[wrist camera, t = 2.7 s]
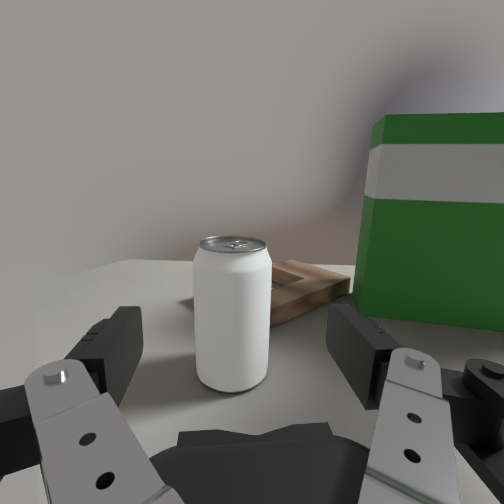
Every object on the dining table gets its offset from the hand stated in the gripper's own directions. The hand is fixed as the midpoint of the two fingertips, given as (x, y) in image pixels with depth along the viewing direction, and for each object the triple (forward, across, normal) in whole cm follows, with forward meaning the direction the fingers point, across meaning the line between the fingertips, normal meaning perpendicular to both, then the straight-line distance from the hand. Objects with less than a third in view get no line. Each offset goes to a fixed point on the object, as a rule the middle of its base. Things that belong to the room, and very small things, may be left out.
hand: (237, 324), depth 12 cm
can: (+12, 0, +11) cm, 16 cm away
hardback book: (+22, -27, +11) cm, 36 cm away
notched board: (+28, -8, +11) cm, 31 cm away
